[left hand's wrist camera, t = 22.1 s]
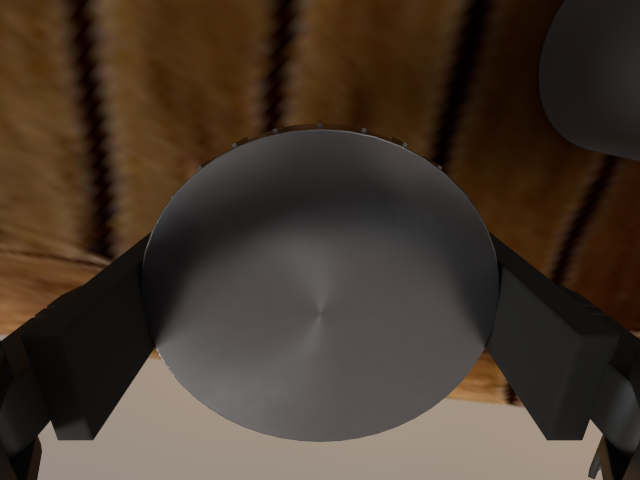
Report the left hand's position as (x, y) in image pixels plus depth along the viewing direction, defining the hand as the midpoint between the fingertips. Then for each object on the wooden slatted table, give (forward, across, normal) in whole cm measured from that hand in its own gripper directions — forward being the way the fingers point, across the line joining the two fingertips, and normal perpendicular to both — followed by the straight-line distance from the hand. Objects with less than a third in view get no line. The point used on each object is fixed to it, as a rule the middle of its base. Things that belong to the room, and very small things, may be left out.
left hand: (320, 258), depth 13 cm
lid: (-3, 0, 0) cm, 3 cm away
